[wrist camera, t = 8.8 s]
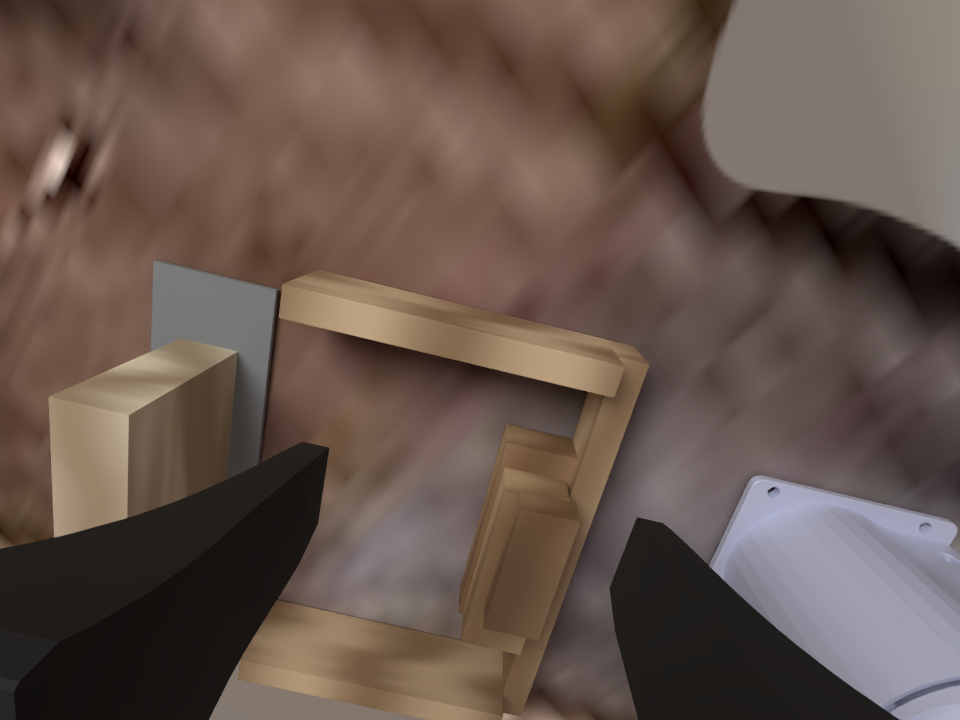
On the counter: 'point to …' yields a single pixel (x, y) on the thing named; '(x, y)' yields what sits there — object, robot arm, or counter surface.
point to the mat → (222, 341)
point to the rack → (601, 426)
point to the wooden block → (141, 435)
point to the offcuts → (519, 541)
